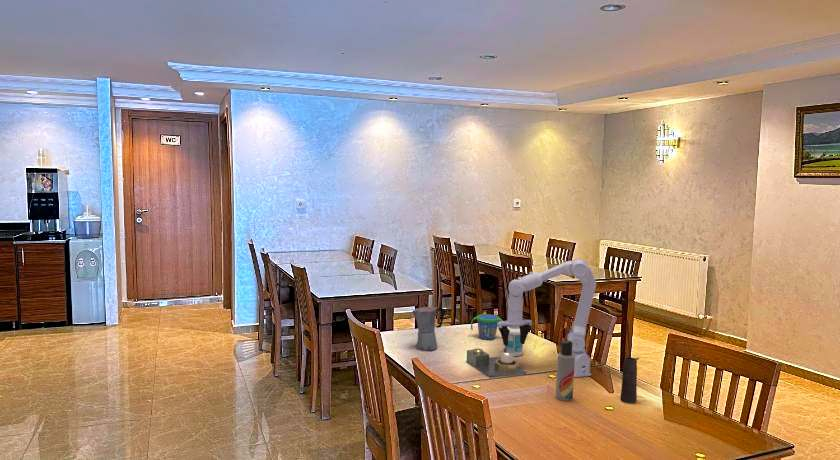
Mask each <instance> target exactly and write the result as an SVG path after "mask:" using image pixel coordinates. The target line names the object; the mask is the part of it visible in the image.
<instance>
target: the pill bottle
mask: <svg viewBox="0 0 840 460" xmlns="http://www.w3.org/2000/svg"><path fill="white" fill-rule="evenodd" d="M507 328H508V329H509V330H510V332H509V336H508V346H505V345H504V348H505V349H506V351H512V352H513V357H519V356H522V354H523V345H524V344H522V343H520V327H519V326H513V327H507Z"/></svg>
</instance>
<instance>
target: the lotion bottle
mask: <svg viewBox="0 0 840 460" xmlns="http://www.w3.org/2000/svg"><path fill="white" fill-rule="evenodd" d="M572 346H573V343H572V341H568V340H567V339H566V340H562V341H561V342H560V352H559V353H557V360H556V362H557V363H556V385H555V398H556V399H557V400H560V401H562V402H564V401H565V402H569V401H572V400H573V399H574V397H573V396H574V380H575V377H574V364H575V356H574V355H573V354H572Z"/></svg>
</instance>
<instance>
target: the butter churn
mask: <svg viewBox="0 0 840 460" xmlns="http://www.w3.org/2000/svg"><path fill="white" fill-rule="evenodd" d="M626 330H627V332H626V333H627V334H626V335H627V343H628V344H627V346H628V347H627V348H628V356H625V357H624V360H623V367H622V377H621V391H620V401H621V402H624V403H625V404H626V403H627V404H636V403H637V401H638V400H637V397H638V396H637V394H638V393H637V387H638V386H637V381H638V380H637V379H638V377H637V376H638V360H639V359H640V357H631V356H632V355H631V344H630V326H629V320H628V319H626Z"/></svg>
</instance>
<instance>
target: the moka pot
mask: <svg viewBox="0 0 840 460" xmlns="http://www.w3.org/2000/svg"><path fill="white" fill-rule="evenodd" d="M423 305H424V306H422V307H417V308H415V309H413V310H411V313H412V315H413V317H414V319H415V320H416V326H417V330H418V331H417V343H416V348H417V350H419V351H430V352H431V351H434V350H436V349H438V345H437V344H438V343H437V337H436V332H435V330H436V329H439V328H442V325H443V321H444V318H445V314H446V310H445V309H444V308H443V307H442V305H440V306H436V307H432V306H431V307H430V306H428V303H427V302H425V303H424V304H423ZM440 311H441V312H442V313H441V315H440V320H439V324H438V325H436V316H437V313H439V312H440Z"/></svg>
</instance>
